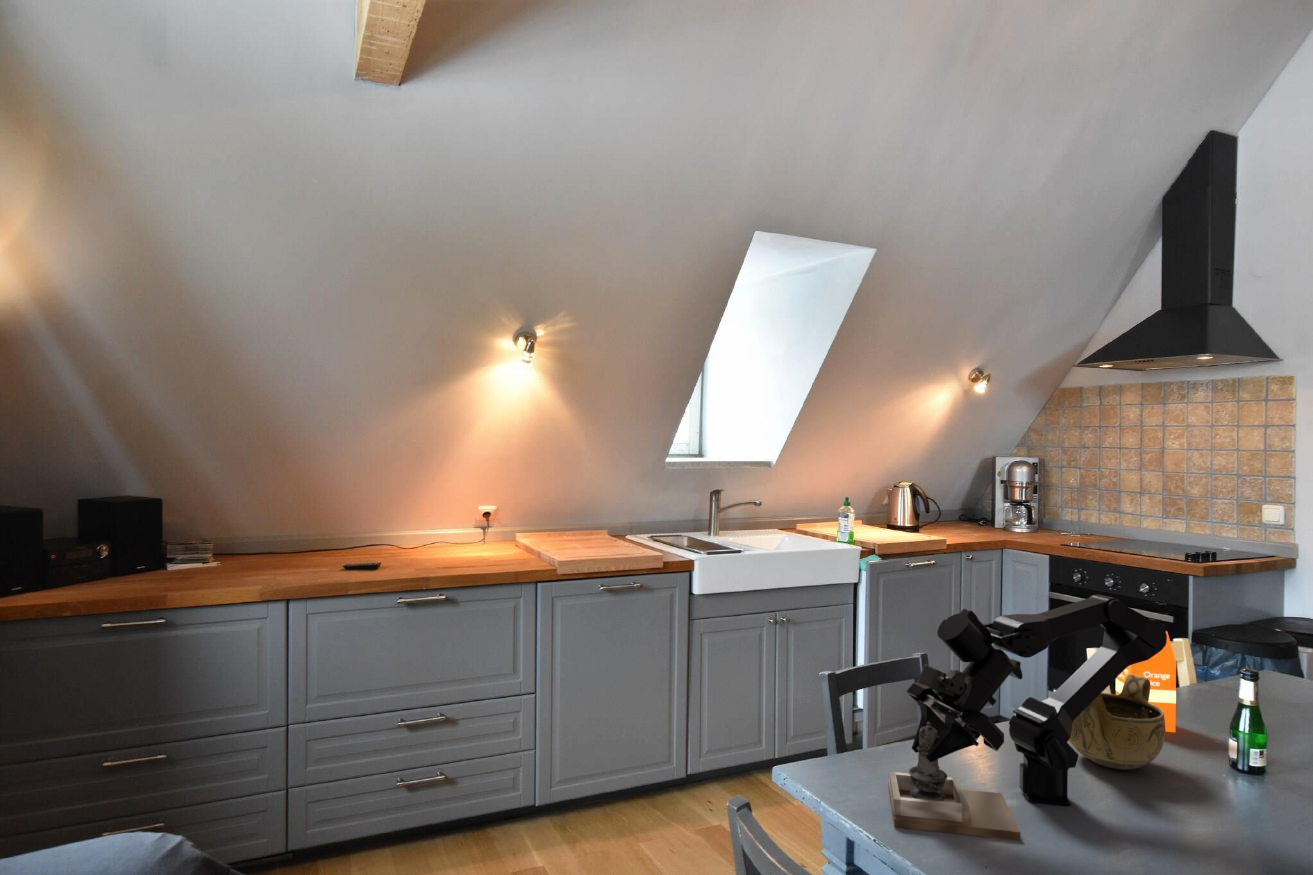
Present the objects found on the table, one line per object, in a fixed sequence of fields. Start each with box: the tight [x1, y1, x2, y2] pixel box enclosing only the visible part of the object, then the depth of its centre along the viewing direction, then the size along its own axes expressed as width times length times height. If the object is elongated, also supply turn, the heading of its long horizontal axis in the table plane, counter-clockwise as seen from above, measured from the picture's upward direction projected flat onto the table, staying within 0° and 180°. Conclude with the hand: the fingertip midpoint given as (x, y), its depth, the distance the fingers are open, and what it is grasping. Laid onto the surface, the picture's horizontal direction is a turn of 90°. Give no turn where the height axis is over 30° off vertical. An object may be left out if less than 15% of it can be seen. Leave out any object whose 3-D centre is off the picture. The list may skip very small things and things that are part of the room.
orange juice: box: [1115, 630, 1177, 733], centre depth 174 cm, size 8×9×20 cm
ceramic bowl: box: [1068, 675, 1167, 771], centre depth 153 cm, size 22×17×15 cm
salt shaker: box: [908, 721, 948, 801], centre depth 132 cm, size 6×6×12 cm
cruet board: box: [887, 771, 1021, 841], centre depth 131 cm, size 18×14×4 cm
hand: (920, 755), depth 131 cm, fingers closed on salt shaker, 4 cm apart
